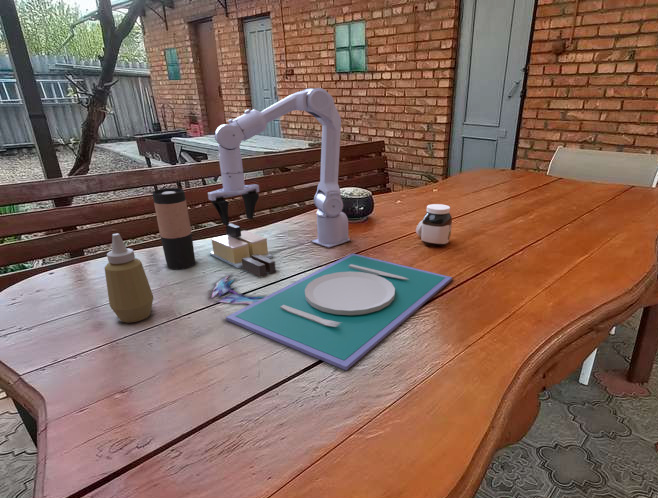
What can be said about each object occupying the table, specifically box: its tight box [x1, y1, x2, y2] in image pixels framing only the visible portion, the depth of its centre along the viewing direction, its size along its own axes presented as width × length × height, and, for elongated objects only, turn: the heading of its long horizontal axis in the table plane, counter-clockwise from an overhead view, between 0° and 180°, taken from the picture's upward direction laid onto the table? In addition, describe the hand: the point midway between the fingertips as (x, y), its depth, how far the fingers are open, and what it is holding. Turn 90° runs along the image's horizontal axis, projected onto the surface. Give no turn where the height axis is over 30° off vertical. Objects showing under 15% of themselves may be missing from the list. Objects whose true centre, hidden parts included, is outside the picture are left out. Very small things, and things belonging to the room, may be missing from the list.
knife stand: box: [242, 254, 277, 278], centre depth 111 cm, size 5×8×3 cm, turn 47°
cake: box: [209, 230, 274, 269], centre depth 120 cm, size 11×15×5 cm
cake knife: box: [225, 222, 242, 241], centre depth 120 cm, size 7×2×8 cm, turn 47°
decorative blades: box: [211, 275, 265, 306], centre depth 99 cm, size 20×1×10 cm
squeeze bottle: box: [104, 232, 154, 324], centre depth 85 cm, size 8×8×18 cm
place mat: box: [225, 252, 453, 371], centre depth 96 cm, size 45×30×2 cm
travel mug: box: [151, 187, 196, 270], centre depth 111 cm, size 8×8×20 cm
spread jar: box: [415, 203, 453, 248], centre depth 130 cm, size 12×11×12 cm
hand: (238, 221), depth 118 cm, fingers open, 7 cm apart
